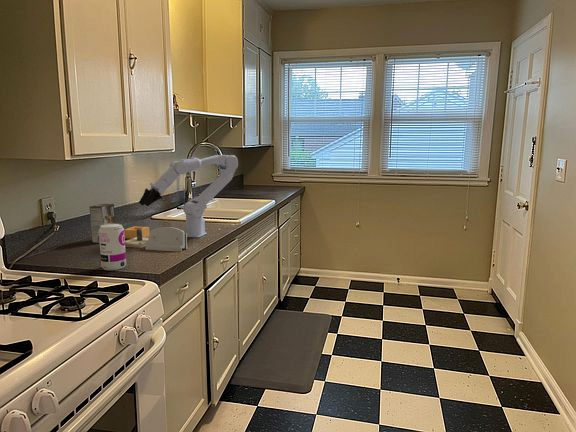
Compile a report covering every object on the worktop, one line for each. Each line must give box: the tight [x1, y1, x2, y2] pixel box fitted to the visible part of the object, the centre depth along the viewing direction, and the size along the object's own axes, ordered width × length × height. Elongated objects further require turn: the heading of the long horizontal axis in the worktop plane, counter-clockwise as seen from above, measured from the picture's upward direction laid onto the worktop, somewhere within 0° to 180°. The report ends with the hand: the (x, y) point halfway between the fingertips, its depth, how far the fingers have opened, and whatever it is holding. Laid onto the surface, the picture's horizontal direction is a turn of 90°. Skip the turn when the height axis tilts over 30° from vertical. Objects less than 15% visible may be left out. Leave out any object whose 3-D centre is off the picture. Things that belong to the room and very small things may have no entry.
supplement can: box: [99, 223, 127, 271], centre depth 153 cm, size 8×8×15 cm
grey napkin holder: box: [144, 226, 188, 252], centre depth 181 cm, size 17×5×10 cm, turn 77°
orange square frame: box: [124, 226, 150, 240], centre depth 204 cm, size 8×8×4 cm
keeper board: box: [125, 229, 149, 249], centre depth 190 cm, size 14×10×6 cm
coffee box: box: [89, 203, 116, 244], centre depth 196 cm, size 9×6×16 cm
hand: (143, 204), depth 189 cm, fingers open, 7 cm apart
